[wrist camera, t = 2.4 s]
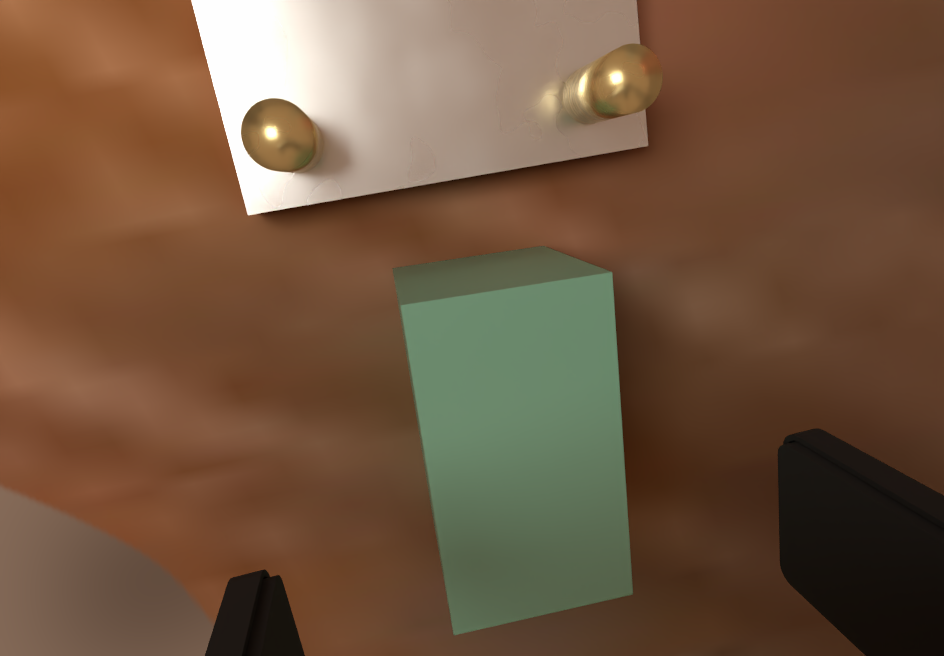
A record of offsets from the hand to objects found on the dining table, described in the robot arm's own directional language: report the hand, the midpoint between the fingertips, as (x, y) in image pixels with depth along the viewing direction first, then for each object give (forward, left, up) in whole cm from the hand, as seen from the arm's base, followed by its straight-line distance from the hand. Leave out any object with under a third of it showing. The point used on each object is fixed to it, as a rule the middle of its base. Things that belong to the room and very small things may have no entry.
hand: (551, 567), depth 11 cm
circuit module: (0, -1, -10) cm, 10 cm away
